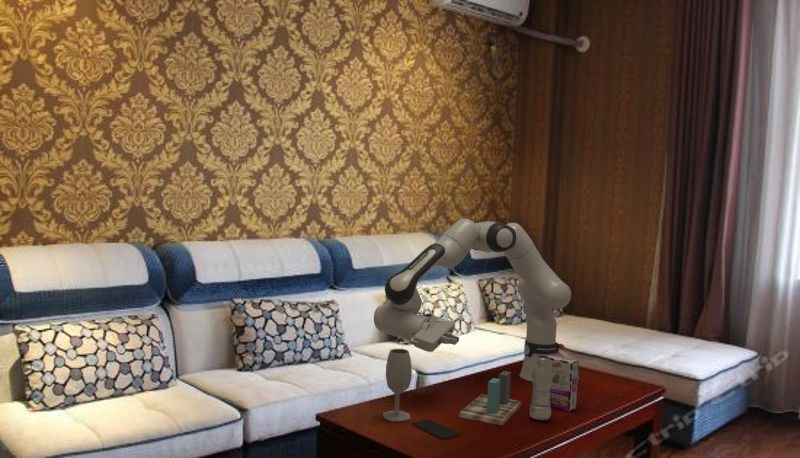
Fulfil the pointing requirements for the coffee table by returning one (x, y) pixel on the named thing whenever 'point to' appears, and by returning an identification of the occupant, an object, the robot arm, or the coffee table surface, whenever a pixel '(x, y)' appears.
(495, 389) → the upright teal brick
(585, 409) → the coffee table surface
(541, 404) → the plastic bottle
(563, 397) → the candy bar box
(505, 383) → the grey slab
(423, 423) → the phone
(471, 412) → the divided base tray
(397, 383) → the wineglass
